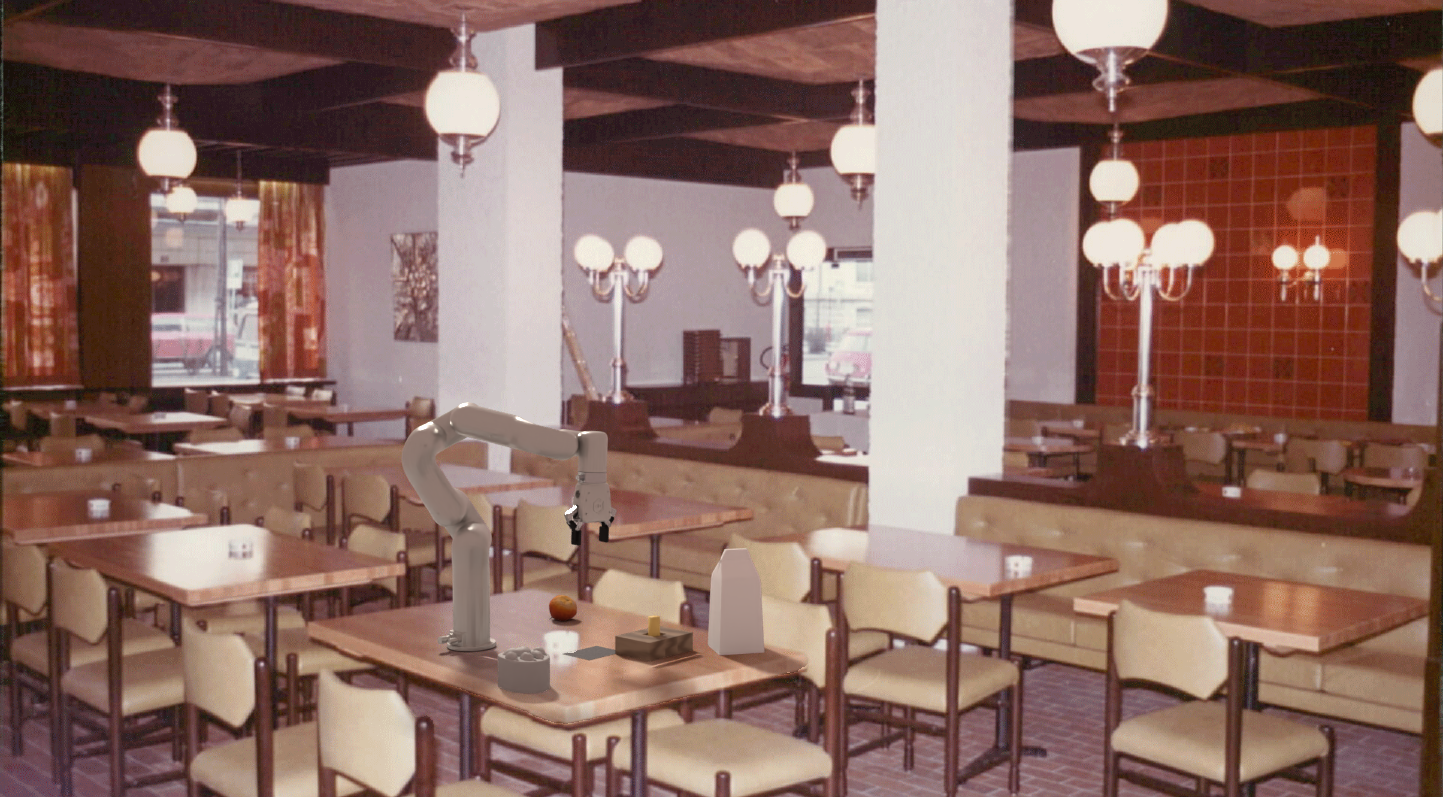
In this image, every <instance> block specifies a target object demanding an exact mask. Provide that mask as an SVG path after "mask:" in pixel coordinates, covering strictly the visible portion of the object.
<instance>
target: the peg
mask: <svg viewBox="0 0 1443 797" xmlns="http://www.w3.org/2000/svg"><path fill="white" fill-rule="evenodd" d="M647 622H648V624H647V625H648V626H647V628H648V636H653V637H656V636H660V626H661V616H659V615H648V616H647Z"/></svg>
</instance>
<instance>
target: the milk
mask: <svg viewBox="0 0 1443 797" xmlns="http://www.w3.org/2000/svg"><path fill="white" fill-rule="evenodd" d="M760 577H761V576H760V575H759V572H758V570H757V568H756V566H755V564H754V561H753V560H752V557H751V554H750V551H749V549H748V548H746V547H745V548H743V547H742V548H725V549H723V552H722V554H721V556H720V560H718V562H717V564H716V566H715V567H714V569H713V571H712V572H711V577H710V589H709V590H710V591H709V592H710V593H709V594H710V595H709V612H708V630H707V631H708V635H707V636H708V637H707V646H709V648H710V649H711V650H713V651H714V652H715V653H716V654H717V655H719V656H729V655H742V654H743V655H745V654H746V655H747V654H759V653H765V652H766V651H765V637H764V636H765V635H764V634H765V633H764V616H763V615H764V614H763V596H762V582H761V578H760Z"/></svg>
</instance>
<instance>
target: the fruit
mask: <svg viewBox="0 0 1443 797" xmlns="http://www.w3.org/2000/svg"><path fill="white" fill-rule="evenodd" d="M548 611H549V614H550V618H549V620H551V619H553V620H555V621H557V622H558V621H559V622H566V621H569V620H571V619H573V618H575V616H577V613H578V606H577V602H576V601H575V600H574V599H573V598H571V597H570V596H568V595H563V594H559V595H556V596H554V597H553V598H552V599H551V600H550V601H549V603H548Z"/></svg>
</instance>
